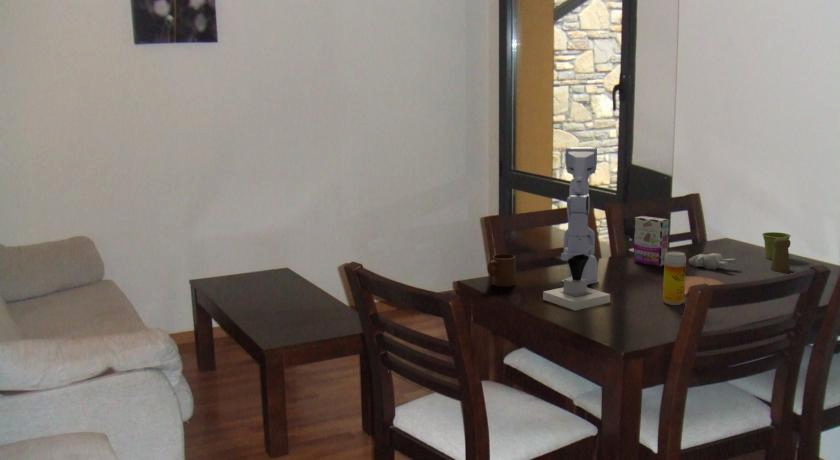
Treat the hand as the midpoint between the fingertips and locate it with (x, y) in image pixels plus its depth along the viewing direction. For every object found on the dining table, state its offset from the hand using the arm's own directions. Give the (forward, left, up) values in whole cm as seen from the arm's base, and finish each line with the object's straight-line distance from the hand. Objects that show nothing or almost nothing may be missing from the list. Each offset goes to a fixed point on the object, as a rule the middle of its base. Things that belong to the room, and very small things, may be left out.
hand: (576, 279), depth 247 cm
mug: (+8, -27, -7) cm, 29 cm away
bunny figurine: (-65, -2, -7) cm, 65 cm away
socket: (0, 0, -7) cm, 7 cm away
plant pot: (-94, +2, -7) cm, 94 cm away
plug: (0, -1, -6) cm, 6 cm away
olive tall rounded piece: (-81, +13, -7) cm, 82 cm away
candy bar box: (-53, -19, -7) cm, 57 cm away
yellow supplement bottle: (-22, +18, -7) cm, 29 cm away
